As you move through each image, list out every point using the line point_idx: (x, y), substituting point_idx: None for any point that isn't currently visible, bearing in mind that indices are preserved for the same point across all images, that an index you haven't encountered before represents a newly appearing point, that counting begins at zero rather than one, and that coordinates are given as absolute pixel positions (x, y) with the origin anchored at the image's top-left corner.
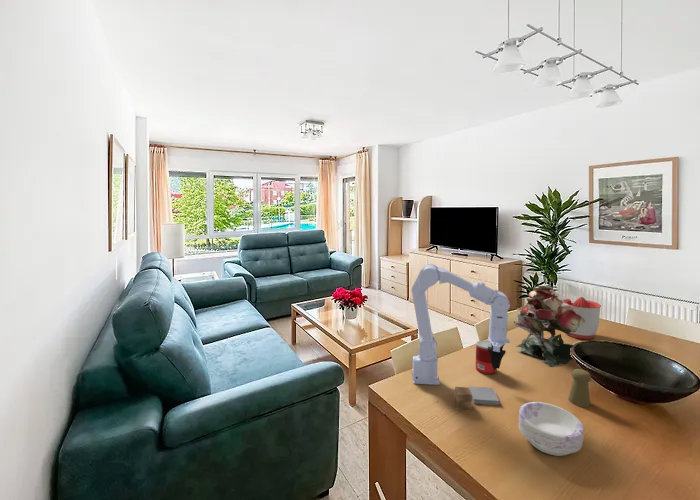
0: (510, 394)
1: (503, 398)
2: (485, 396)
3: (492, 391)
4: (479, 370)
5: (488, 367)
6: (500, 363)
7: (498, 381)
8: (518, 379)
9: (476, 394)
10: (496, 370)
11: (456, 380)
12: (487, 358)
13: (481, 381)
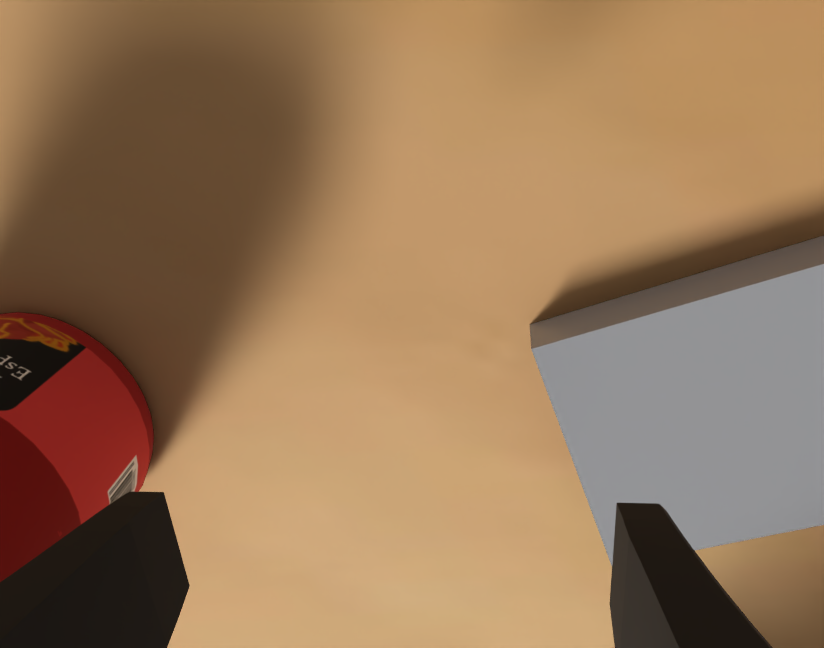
0: (497, 114)
1: (642, 193)
2: (792, 408)
3: (631, 342)
4: (142, 481)
5: (97, 439)
6: (729, 596)
7: (236, 272)
8: (16, 30)
9: (773, 494)
10: (17, 319)
11: (455, 633)
12: (27, 545)
13: (346, 437)
